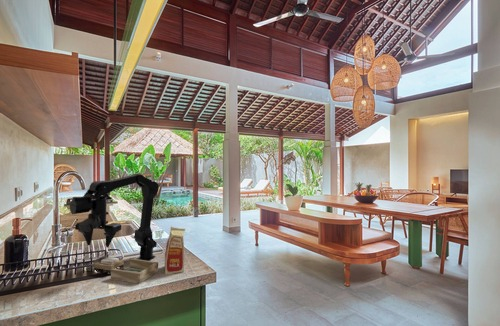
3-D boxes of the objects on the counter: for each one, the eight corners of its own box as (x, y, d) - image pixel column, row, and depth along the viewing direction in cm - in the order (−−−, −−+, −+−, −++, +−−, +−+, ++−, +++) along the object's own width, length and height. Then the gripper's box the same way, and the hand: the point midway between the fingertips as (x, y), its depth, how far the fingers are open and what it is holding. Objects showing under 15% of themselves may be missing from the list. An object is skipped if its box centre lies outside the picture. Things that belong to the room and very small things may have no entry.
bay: (131, 267, 123) (131, 258, 123) (157, 270, 120) (158, 262, 120) (110, 278, 110) (110, 269, 110) (139, 283, 107) (140, 273, 107)
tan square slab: (105, 264, 123) (105, 254, 123) (123, 267, 121) (124, 257, 121) (92, 271, 116) (92, 260, 116) (111, 274, 113) (111, 263, 113)
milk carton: (165, 274, 117) (166, 229, 117) (163, 266, 125) (165, 224, 125) (186, 271, 120) (187, 228, 120) (183, 264, 129) (184, 223, 129)
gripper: (64, 212, 108) (63, 250, 108) (103, 215, 104) (103, 254, 104) (86, 207, 119) (85, 242, 119) (122, 210, 115) (121, 245, 115)
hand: (98, 246), depth 114 cm, fingers open, 9 cm apart
